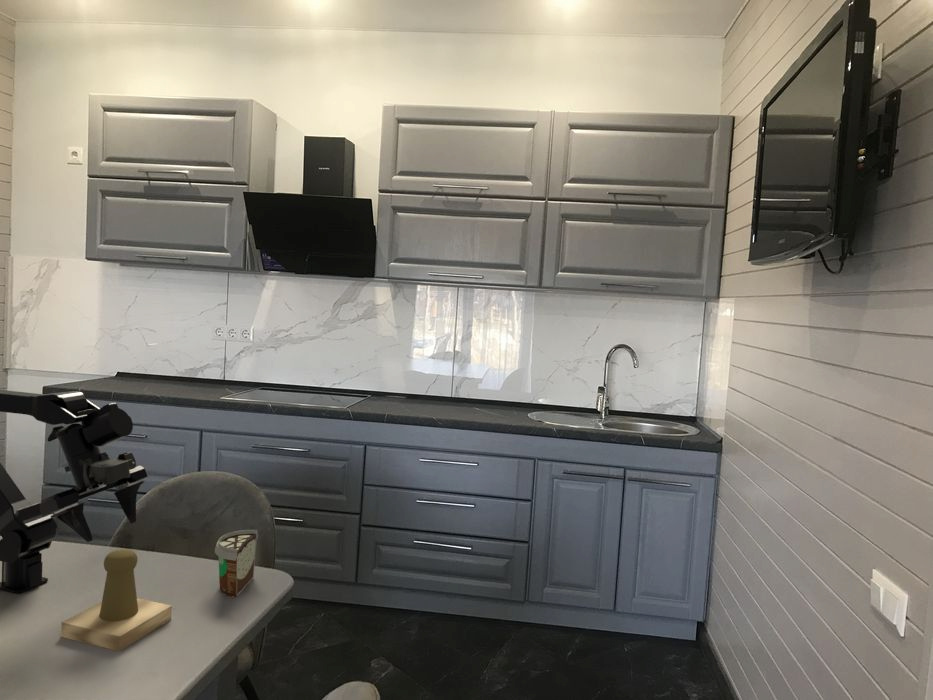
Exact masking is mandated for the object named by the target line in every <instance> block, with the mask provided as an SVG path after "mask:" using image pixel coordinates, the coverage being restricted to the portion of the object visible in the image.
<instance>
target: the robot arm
mask: <svg viewBox="0 0 933 700" xmlns="http://www.w3.org/2000/svg"><path fill="white" fill-rule="evenodd" d="M0 413H11V414H16V415H17V414H19V415H27V416H30V417H33V418H34V419H35V420H36V421H38V422H42V423H45V424H47V425H51V426H54V427H52V430H51V432H50V434H49V435H48V437H47V442H49V443H50V442H55V441H58V442H59V444H60V447H61V450H62V452H63V455H64V457H65V460H66V463H67V466H65V467H64V470H65V473H66V474H67V473H71V477H72V479H73V481H74V484H75V486H73V487H72V488H70V489H67V490H64V491H61V492H58V493H56V494H53V495H51V496H48V497H47V498H44V499H42V500H40V502H37V503H33V502H30V501H29V500H28V499H26V497H25V496H24V493H22V491H21V490H20V489H19V487H18V485H17V484H16V483H15V482H14V480H13V478H12V477H11V476H10V475H9V473H8V472H7V470H6V469H5V467H4V466H3V464H2V463H1V462H0V536H1V538H0V562H1V581H0V590H3V591H6V592H9V593H10V592H11V593H15V594H20V593H23V592H26V591H27V590H28V591H29V590H31V589H33V588H36V587H37V586H39V585H43V584H44V583H47V582H48V581H49V578H48V577H44V576H43V560H42V553H41V552H42V551H44V550H47V549H49V548H51V545H52V542H53V540H54V538H55V537H56V534H57V529H58V525H57V522H56V520H55V518H56V519H58V520H59V521H60V522H62V523H64V524H65V525H67V526H68V527H69V528H71V529H72V530H73V531H74V532H75V533H77V535H79V536H80V537H81V538H82V539H83V540H85V541H86V542H87V543H90V542H92V541H93V535H92V531H91V529H90V527H89V524H88V522H87V520H86V517H85V514H84V508H85V507H84V506H85V503H84V502H83V503H80V504H79V501H81V500H83V499H84V500H85V499H87V498H88V497H92V496H94V495H97V494H100V493H102V492H106V491H108V490H112V489H116V491H115V492H113V493H114V496H115V497H116V500H117V502H118V504H119V505H120V507H121V509H122V510H123V513H124V514H125V517H126V519H127V520H128V521H129V523H130V524H135V523H136V522H137V496H138V491H139V489H140V487H141V486H142V485H143V484H144V483H145V479H147V478H149V475H148V472H147V469H146V468H145V467H144V466H142V465H138V466H137V461H136V458H135V456H134V454H133V452H131V451H125V452H122V453H120V454H118V457H117V458H114V459H113V458H112V459H111V458H110V457H109V455H108V453H107V452H106V451H105V452H104V451H103V452H101V449H100V447H104V446H107V445H109V444H112V443H114V442H117V441H120V439H123V438H125V437H127V436H129V435H131V434H132V432H133V429H134V426H133V425H134V424H133V420H132V417H131V416H130V415H128V413H127V412H126V411H125V410H124V409H121V408H119V406H118V404H117V403H116V402H112V403H107V404H105V405H102V407H99V406H97V405H96V404H94V403H92V402H91V401H89V399H87V398H86V397H85V394H84V393H83V392H81V391H79V390H74V391H73V390H72V391H61V392H53V393H35V392H24V391H15V390H6V389H0ZM80 422H81V423H80ZM61 424H64V425H66V426H63V425H61ZM55 425H56V426H55ZM57 425H59V426H57ZM90 488H91V489H90Z"/></svg>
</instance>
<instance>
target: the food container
mask: <svg viewBox="0 0 933 700" xmlns="http://www.w3.org/2000/svg"><path fill="white" fill-rule="evenodd" d="M258 534H259V533H258V530H257V529H244V530H243V529H242V530H236V531H231V532H228V533H225V534H224V535H221V537H219V539H218V540H217V542H216V545H215V548H214V554H216V556H217V557H218V575H219V577H218V580H219V581H218V582H219V592H220V593H222V594H223V595H225V594H226V595H225V596H227V597H232V596H234V598H237V597H238V596H239V595H240V594H241V593H240V592H243V591H244V589H245V588H246V587H247V586H248V585H249V584H250V582H251V581H252V580H253V579H254V578H255V577H254V575H255V566H256V565H255V563H256V551H257V540H258V539H259V537H258V536H259V535H258ZM253 577H254V578H253ZM252 578H253V579H252ZM251 579H252V580H251ZM250 580H251V581H250ZM247 584H248V585H247ZM246 585H247V586H246ZM245 586H246V587H245ZM239 593H240V594H239ZM238 594H239V595H238Z"/></svg>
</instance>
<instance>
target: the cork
mask: <svg viewBox="0 0 933 700" xmlns="http://www.w3.org/2000/svg"><path fill="white" fill-rule="evenodd" d="M138 559H139V558H138V555H137V552H135V551H134V550H132V549H128V548H127V549H126V548H124V549H123V548H122V549H116V550H113V551H110V552H109V553H108V554H106V556H105V557H104V561H103V568H104V571H105V572H106V575H105V582H104V588H103V595H102V598H101V599H102V600H101V602H102V604H101V609H100V615H99V617H100V618H101V619H102V620H105V621H121V620H125V619H128V618H131V617H133V616H134V615H136V614H137V613H138V603H137V598H138V596H137V587H136V585H137V584H136V578H135V568H136V567H137V564H138Z"/></svg>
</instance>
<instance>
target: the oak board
mask: <svg viewBox="0 0 933 700" xmlns="http://www.w3.org/2000/svg"><path fill="white" fill-rule="evenodd" d="M137 603H138V613H137V614H136V615H134V616H133V617H131V618H128V619H125V620H121V621H105V620H102V619H101V618H100V617H99V615H100V609H101V604H102V601H100V602H98V603H97V604H95V605H93V606H91V607H89V608H87V609H85V610H82V611H81V612H79V613H77V614H75V615H73V616H71V617H69V618H67V619H65V620H64V621H62V622H61V633H60V634H61V635H60V637H61V638H65V639H69V640H73V641H78V642H82V643H85V644H89V645H93V644H94V645H93V646H98V647H101V648H106V649H109V650H113V651H117V652H121V651H122V650H123V649H125V648H127V647H129V646H131V645H132V644H134V643H135V642H137V641H138V640H140V639H142V637H145V636H146V635H148V634H149V633H151V632H153V631H155V630H156V629H158V628H159V627H161V626H162V625H164V624H165V623H167V622H169V621H170V620H172V609H173V608H172V607H173V605H171V604H167V603H161V602H156V601H152V600H148V599H142V598H140V597H139V598H138V597H137ZM144 635H145V636H144ZM139 638H140V639H139ZM136 640H137V641H136ZM131 643H132V644H131ZM128 645H129V646H128ZM126 646H127V647H126Z"/></svg>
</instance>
